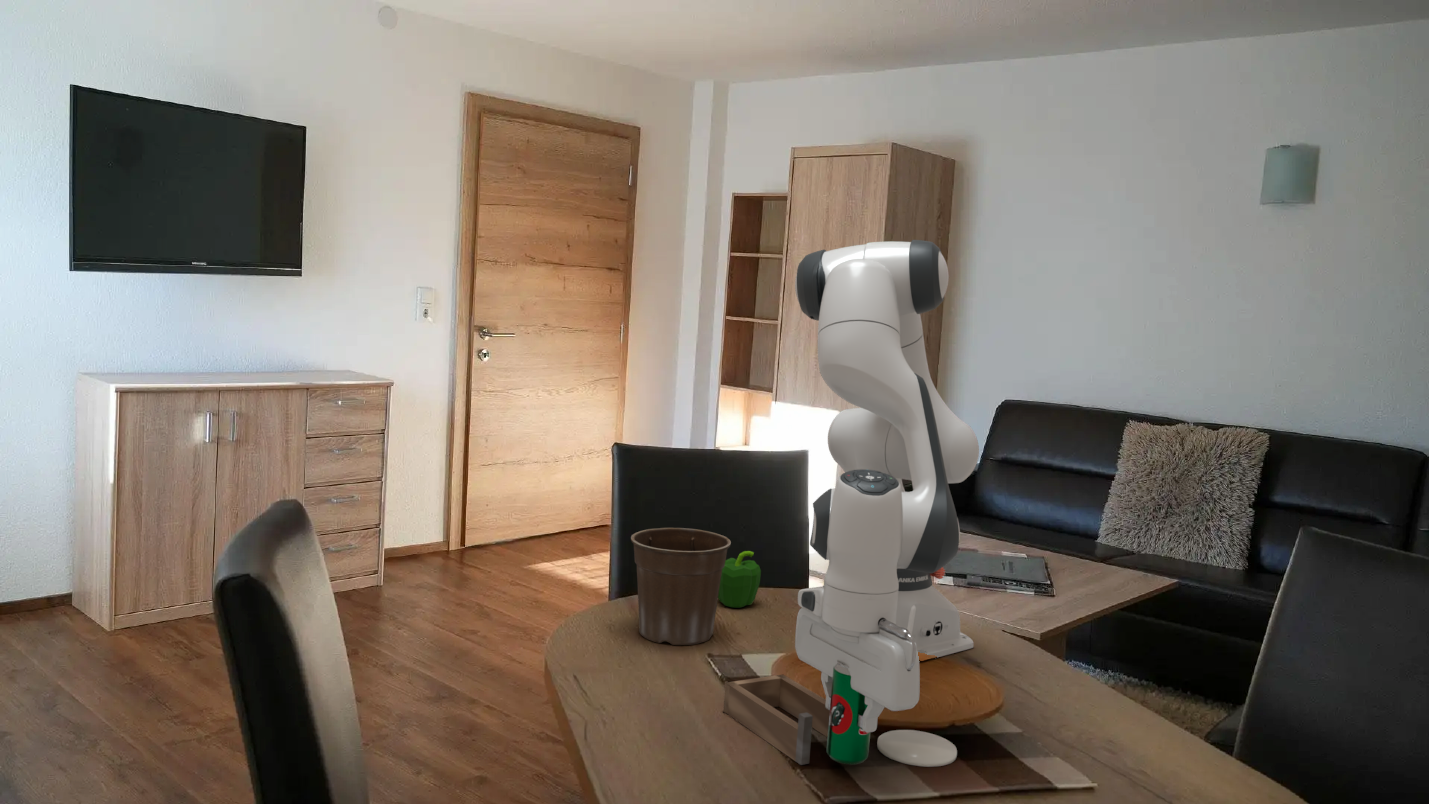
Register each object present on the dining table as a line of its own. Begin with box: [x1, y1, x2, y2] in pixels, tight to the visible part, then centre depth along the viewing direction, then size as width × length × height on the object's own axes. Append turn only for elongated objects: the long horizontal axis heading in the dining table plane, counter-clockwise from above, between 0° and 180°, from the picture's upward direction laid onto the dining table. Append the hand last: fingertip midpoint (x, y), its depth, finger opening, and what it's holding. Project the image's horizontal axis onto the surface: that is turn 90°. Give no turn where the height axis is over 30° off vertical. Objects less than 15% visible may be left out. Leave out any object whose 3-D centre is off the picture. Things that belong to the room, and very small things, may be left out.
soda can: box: [826, 660, 871, 765], centre depth 134 cm, size 5×5×12 cm
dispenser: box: [722, 674, 830, 766], centre depth 145 cm, size 9×18×6 cm, turn 30°
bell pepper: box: [718, 550, 762, 609], centre depth 202 cm, size 8×8×10 cm
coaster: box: [876, 729, 958, 768], centre depth 142 cm, size 10×10×1 cm
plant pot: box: [630, 527, 732, 646], centre depth 182 cm, size 16×16×16 cm
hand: (850, 720), depth 134 cm, fingers closed on soda can, 5 cm apart
